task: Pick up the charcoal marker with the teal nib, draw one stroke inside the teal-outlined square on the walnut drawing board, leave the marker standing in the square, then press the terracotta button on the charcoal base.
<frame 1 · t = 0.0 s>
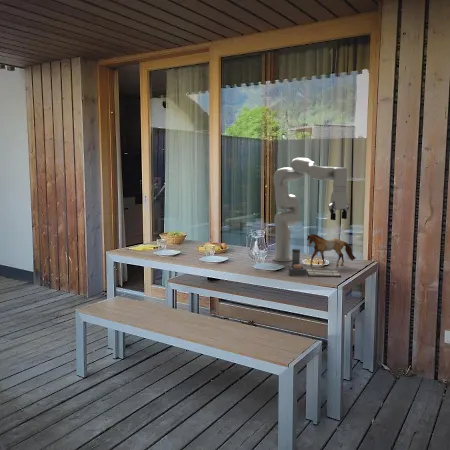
hand: (338, 219, 267), 31 cm above the table, tool pointing down, fingers open, 9 cm apart
horse figurine: (331, 267, 284), on the table
button base: (297, 273, 269), on the table
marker: (295, 269, 280), on the table
button: (297, 267, 268), point 4 cm above the table, slide at 0.0 cm
board: (322, 273, 268), on the table
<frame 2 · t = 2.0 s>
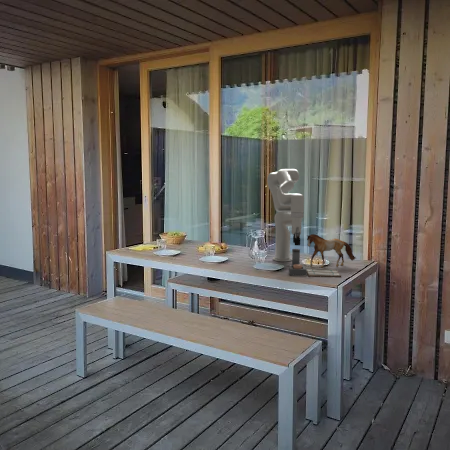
hand: (296, 243, 277), 15 cm above the table, tool pointing down, fingers open, 9 cm apart
nothing on the table moved.
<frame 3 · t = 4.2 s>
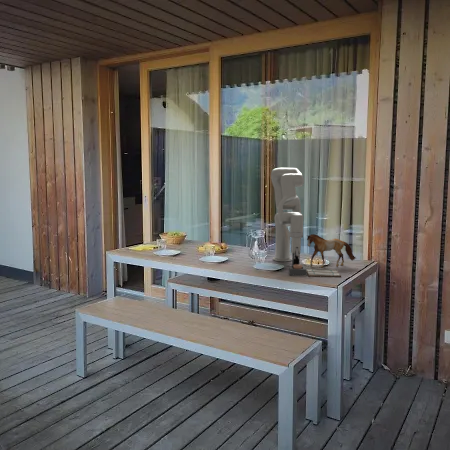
hand: (295, 264, 279), 3 cm above the table, tool pointing down, fingers closed on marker, 4 cm apart
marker: (295, 269, 280), on the table, touching gripper
everything else where it was.
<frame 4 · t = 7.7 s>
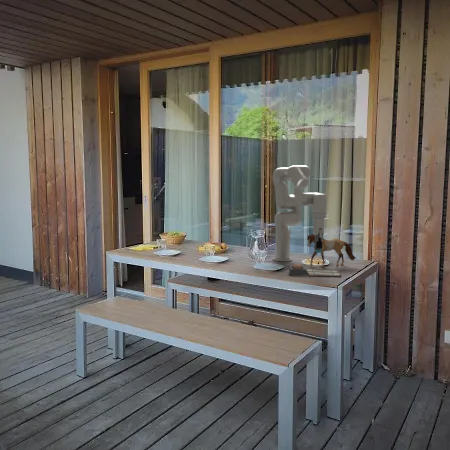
hand: (318, 247, 266), 16 cm above the table, tool pointing down, fingers closed on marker, 4 cm apart
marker: (318, 251, 267), point 13 cm above the table, touching gripper
everything else where it was.
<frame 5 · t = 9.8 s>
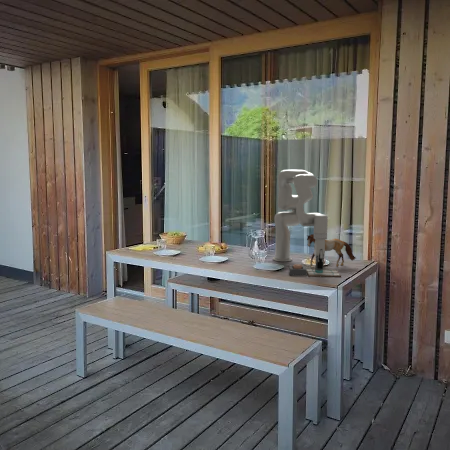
hand: (319, 267, 268), 4 cm above the table, tool pointing down, fingers closed on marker, 4 cm apart
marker: (319, 272, 268), point 1 cm above the table, touching gripper
everything else where it was.
when the fingers open (5 cm above the table, at t = 11.3 s): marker drops 1 cm, resting on board.
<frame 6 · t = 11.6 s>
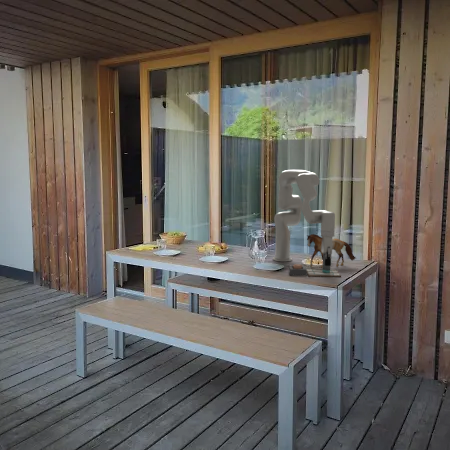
hand: (326, 263, 268), 6 cm above the table, tool pointing down, fingers open, 7 cm apart
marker: (326, 272, 268), point 1 cm above the table, touching board
everything else where it was.
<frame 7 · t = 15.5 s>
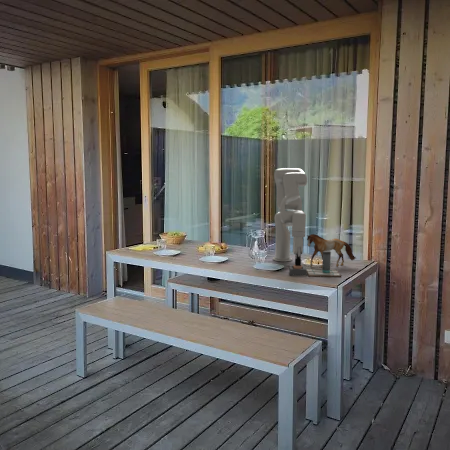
hand: (297, 265, 268), 5 cm above the table, tool pointing down, fingers closed
button: (297, 267, 268), point 4 cm above the table, slide at 0.2 cm, touching gripper
everything else where it was.
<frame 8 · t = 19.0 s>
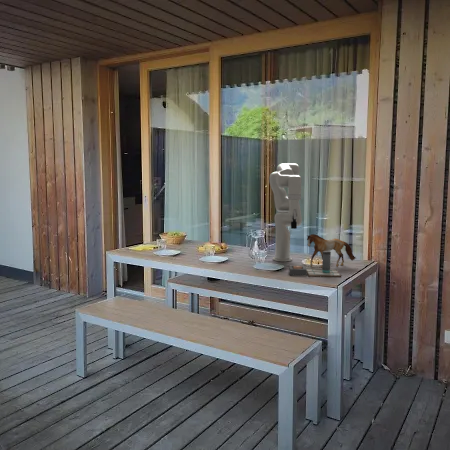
hand: (293, 228, 273), 25 cm above the table, tool pointing down, fingers closed
button: (297, 268, 268), point 3 cm above the table, slide at 0.9 cm
everything else where it was.
at the end: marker inside the target area on the board (1.7 cm from its centre), point 0.9 cm above the board's base; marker tilted 0°; button slide at 0.9 cm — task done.
